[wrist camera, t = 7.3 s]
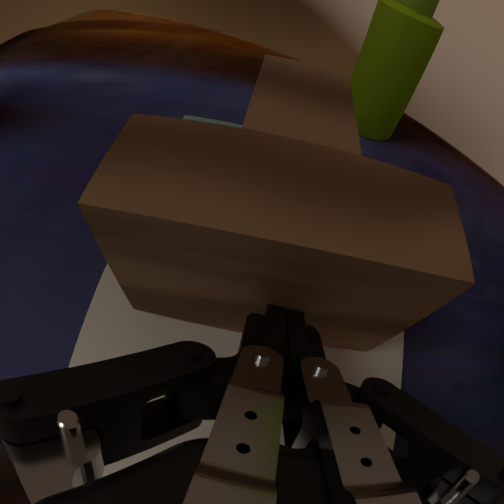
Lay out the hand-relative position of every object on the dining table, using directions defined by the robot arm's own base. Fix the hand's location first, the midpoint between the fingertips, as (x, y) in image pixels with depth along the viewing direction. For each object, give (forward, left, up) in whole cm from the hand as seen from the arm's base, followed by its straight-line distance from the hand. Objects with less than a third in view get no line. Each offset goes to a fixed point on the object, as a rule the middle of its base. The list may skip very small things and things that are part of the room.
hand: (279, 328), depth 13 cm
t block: (-6, +2, -4) cm, 7 cm away
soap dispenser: (-18, +17, -5) cm, 25 cm away
